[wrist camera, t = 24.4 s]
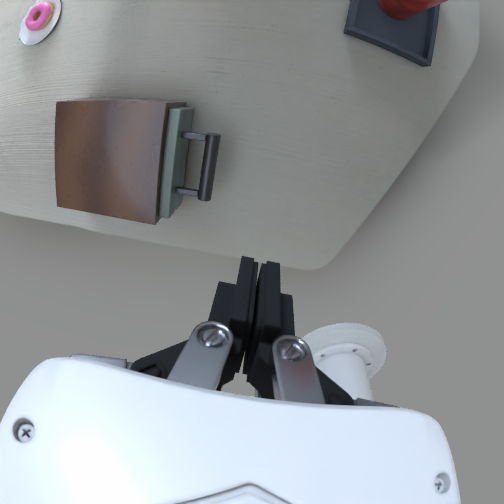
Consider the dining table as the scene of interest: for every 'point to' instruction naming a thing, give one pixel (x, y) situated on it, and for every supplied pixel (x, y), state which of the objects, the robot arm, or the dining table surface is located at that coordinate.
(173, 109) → the drawer
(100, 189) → the cabinet
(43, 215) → the dining table surface
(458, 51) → the dining table surface
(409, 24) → the tray
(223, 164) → the dining table surface
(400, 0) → the red tall cylinder
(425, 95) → the dining table surface
